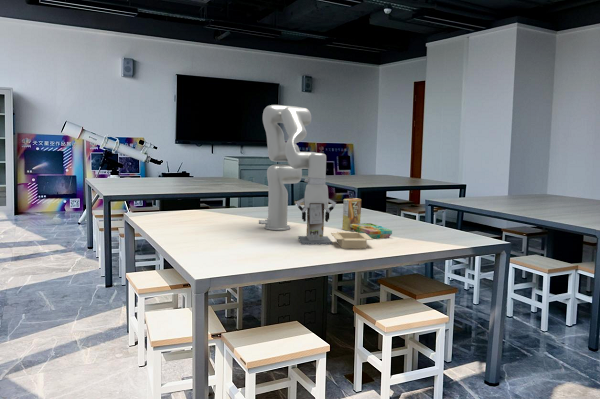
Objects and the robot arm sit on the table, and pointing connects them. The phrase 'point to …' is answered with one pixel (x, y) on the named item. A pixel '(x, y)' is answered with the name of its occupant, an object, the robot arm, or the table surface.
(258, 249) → the table surface
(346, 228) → the candy box
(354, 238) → the carton
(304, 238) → the mat
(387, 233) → the puzzle game
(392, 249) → the table surface
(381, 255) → the table surface
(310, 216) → the coffee box
